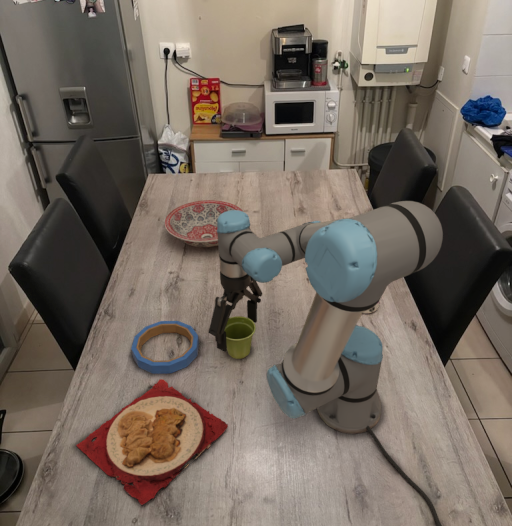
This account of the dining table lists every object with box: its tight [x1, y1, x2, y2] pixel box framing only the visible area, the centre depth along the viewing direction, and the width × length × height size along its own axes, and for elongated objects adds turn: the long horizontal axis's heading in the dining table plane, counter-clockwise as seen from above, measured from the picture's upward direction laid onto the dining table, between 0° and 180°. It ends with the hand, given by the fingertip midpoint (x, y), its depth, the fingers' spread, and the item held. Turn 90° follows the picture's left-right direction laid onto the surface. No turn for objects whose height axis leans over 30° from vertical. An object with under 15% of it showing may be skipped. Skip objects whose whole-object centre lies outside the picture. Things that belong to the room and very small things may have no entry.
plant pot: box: [224, 315, 257, 360], centre depth 143 cm, size 9×9×9 cm
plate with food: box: [75, 379, 229, 506], centre depth 121 cm, size 24×26×4 cm
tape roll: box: [130, 320, 200, 375], centre depth 145 cm, size 18×18×3 cm
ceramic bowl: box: [164, 199, 245, 248], centre depth 192 cm, size 29×29×8 cm
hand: (237, 334), depth 142 cm, fingers open, 13 cm apart
